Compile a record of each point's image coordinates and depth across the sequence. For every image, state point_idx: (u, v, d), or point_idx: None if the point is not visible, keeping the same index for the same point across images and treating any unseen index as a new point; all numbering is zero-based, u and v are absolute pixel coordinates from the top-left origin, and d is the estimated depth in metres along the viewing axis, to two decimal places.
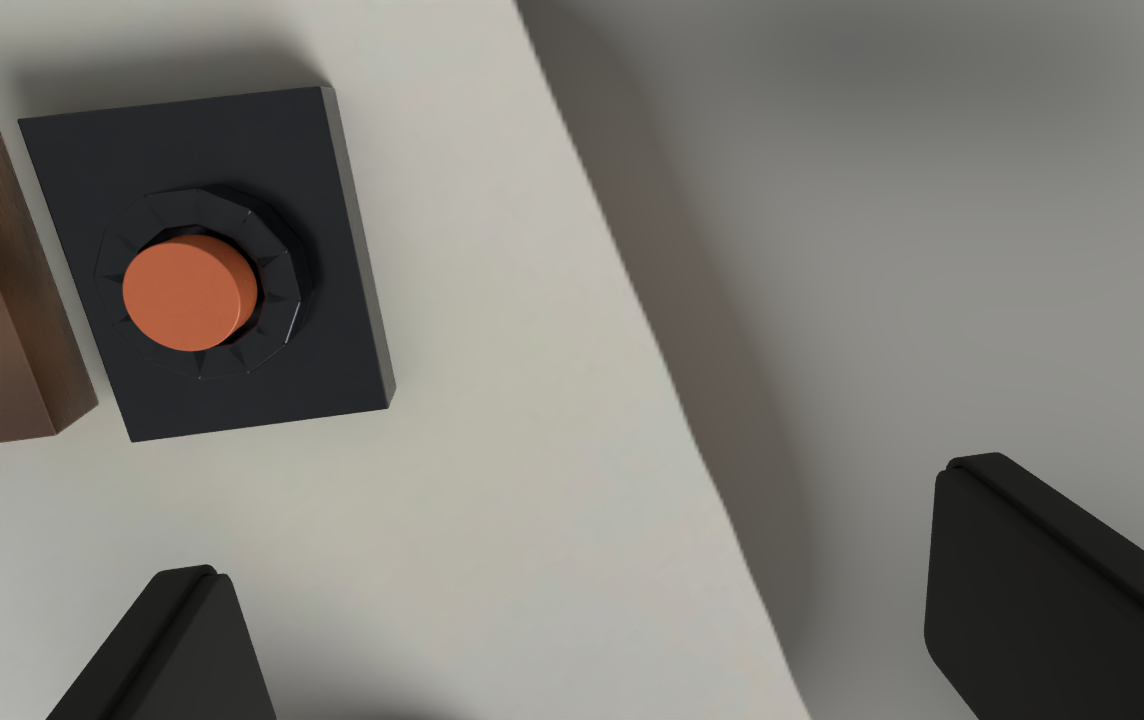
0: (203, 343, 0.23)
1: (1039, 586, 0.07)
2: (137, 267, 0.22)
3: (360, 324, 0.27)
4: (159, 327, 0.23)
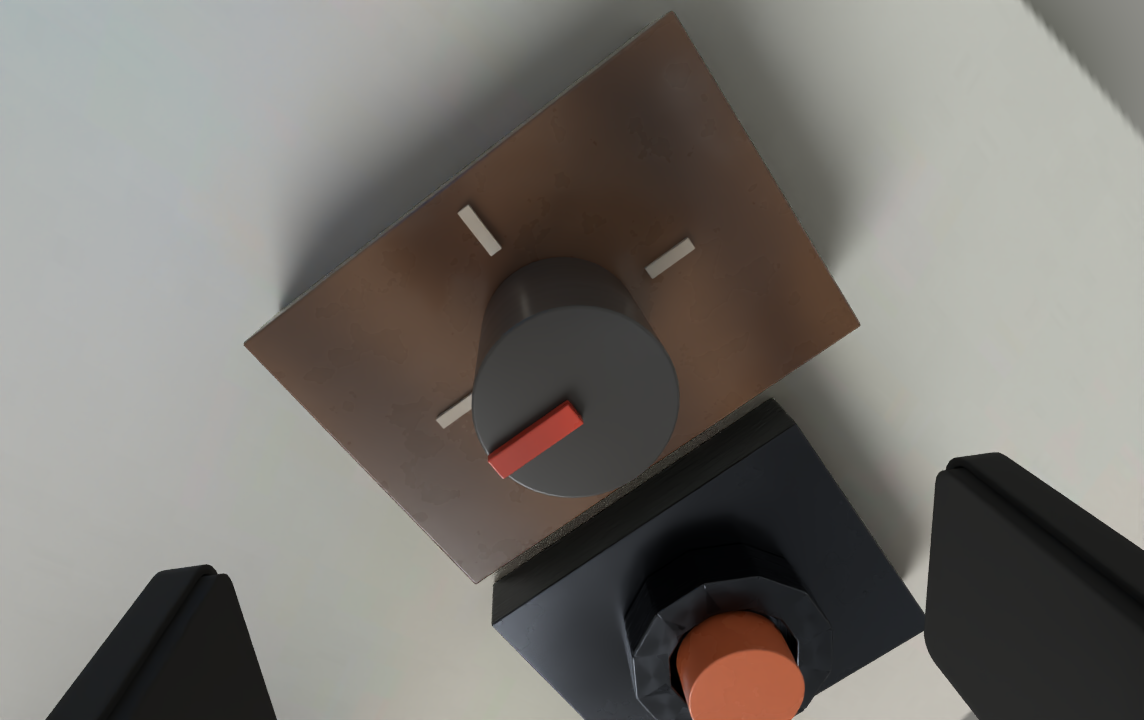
0: None
1: (1039, 586, 0.07)
2: (762, 657, 0.21)
3: None
4: (707, 693, 0.21)
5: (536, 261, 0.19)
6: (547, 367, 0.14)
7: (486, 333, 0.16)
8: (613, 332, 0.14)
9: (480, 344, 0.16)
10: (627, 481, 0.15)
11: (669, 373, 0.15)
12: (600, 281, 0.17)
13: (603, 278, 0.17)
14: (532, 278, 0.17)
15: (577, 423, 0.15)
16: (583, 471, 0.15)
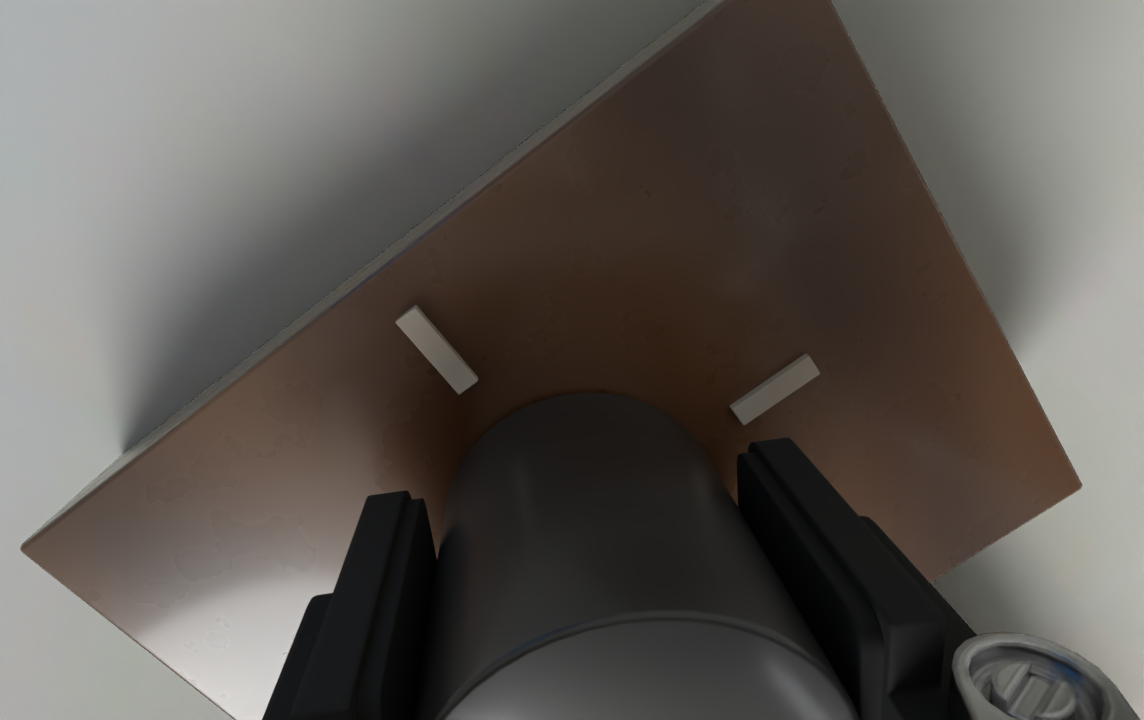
0: None
1: (786, 552, 0.08)
2: None
3: None
4: None
5: (540, 402, 0.10)
6: None
7: (442, 597, 0.08)
8: (731, 664, 0.06)
9: (432, 606, 0.08)
10: None
11: None
12: (669, 471, 0.09)
13: (671, 455, 0.09)
14: (535, 460, 0.09)
15: None
16: None
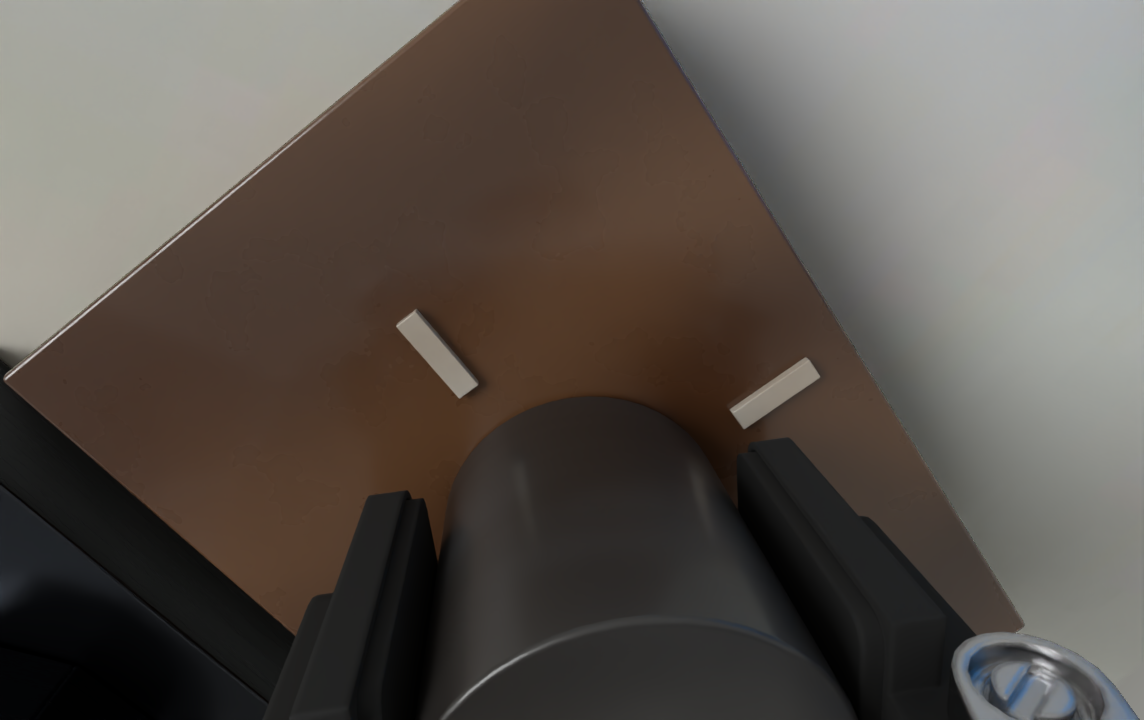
0: None
1: (786, 552, 0.08)
2: None
3: None
4: None
5: (539, 406, 0.10)
6: None
7: (442, 604, 0.08)
8: (728, 668, 0.06)
9: (432, 613, 0.08)
10: None
11: None
12: (667, 475, 0.09)
13: (669, 458, 0.09)
14: (533, 464, 0.09)
15: None
16: None
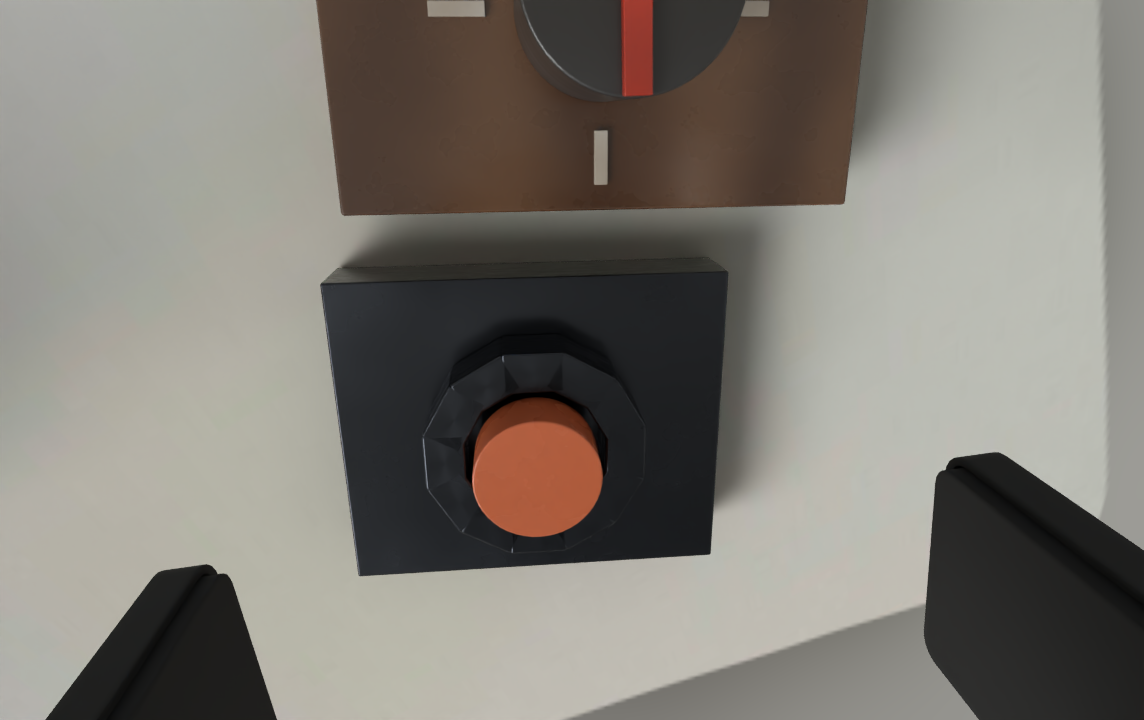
0: (481, 492, 0.19)
1: (1039, 586, 0.07)
2: (579, 445, 0.19)
3: (465, 560, 0.24)
4: (505, 451, 0.19)
5: None
6: None
7: (527, 38, 0.15)
8: None
9: (536, 56, 0.15)
10: None
11: None
12: None
13: None
14: None
15: None
16: (704, 15, 0.13)
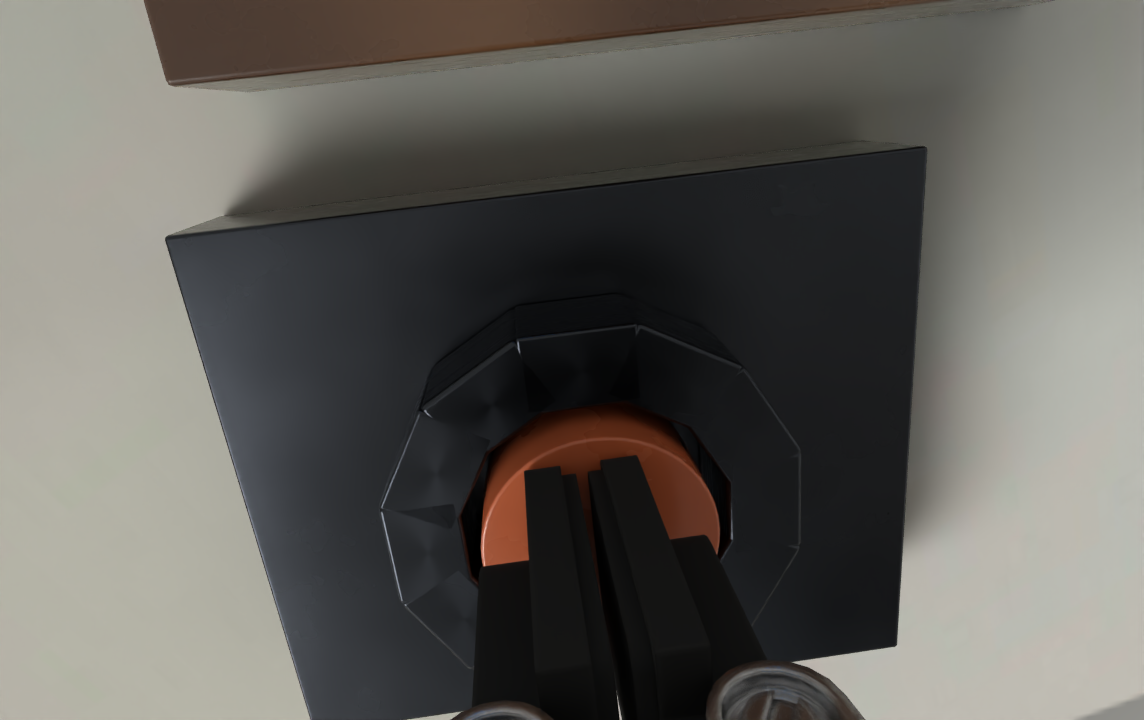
0: None
1: (607, 574, 0.08)
2: (674, 476, 0.10)
3: None
4: None
5: None
6: None
7: None
8: None
9: None
10: None
11: None
12: None
13: None
14: None
15: None
16: None
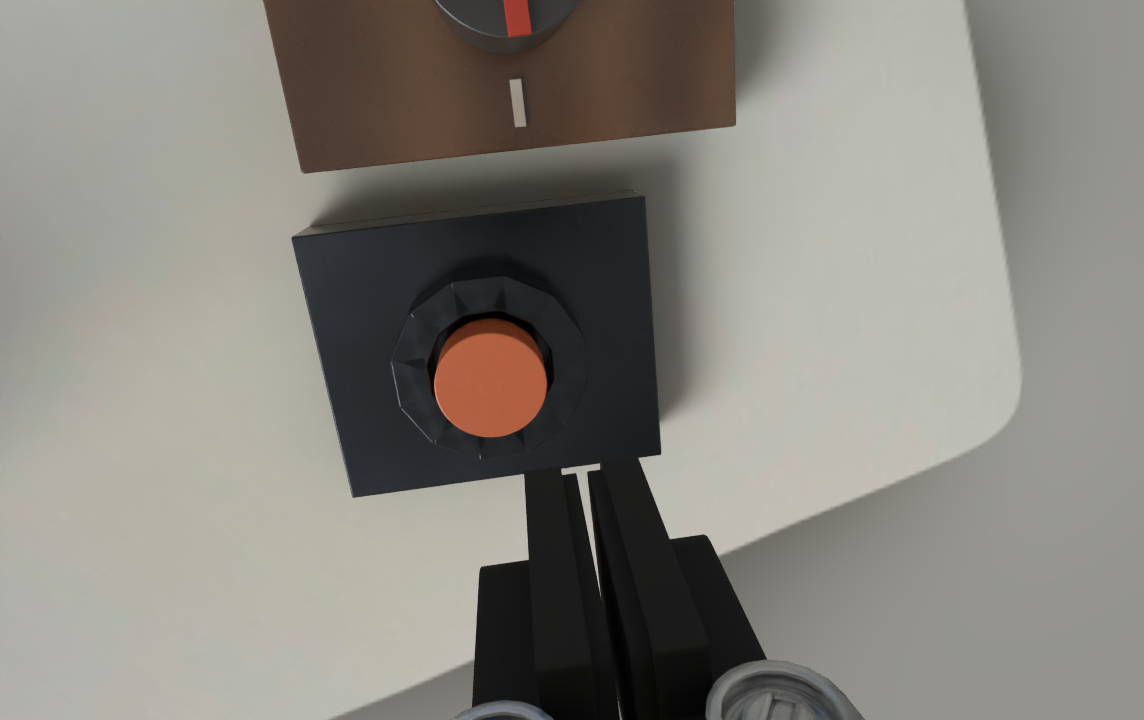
0: (443, 400, 0.23)
1: (607, 574, 0.08)
2: (522, 352, 0.22)
3: (444, 476, 0.27)
4: (459, 362, 0.22)
5: None
6: None
7: (432, 0, 0.18)
8: None
9: (443, 15, 0.18)
10: None
11: None
12: None
13: None
14: None
15: None
16: None
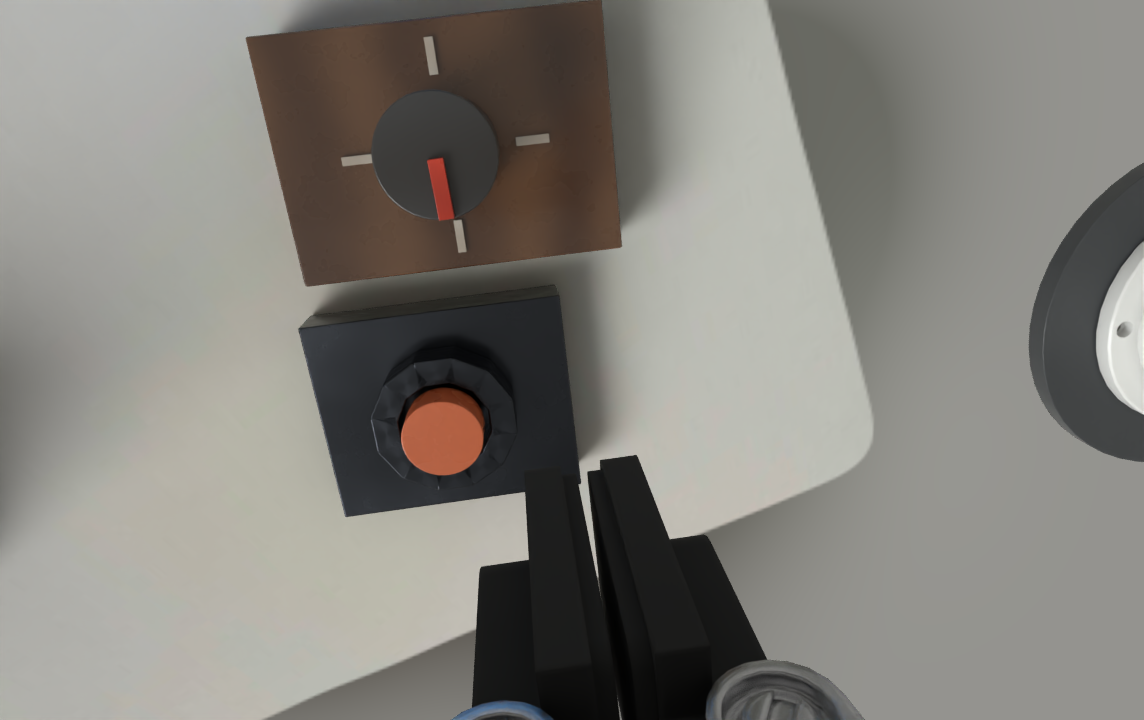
0: (407, 449, 0.31)
1: (607, 574, 0.08)
2: (464, 414, 0.31)
3: (414, 501, 0.36)
4: (419, 422, 0.31)
5: None
6: (403, 160, 0.25)
7: None
8: (400, 113, 0.24)
9: None
10: (496, 152, 0.25)
11: (440, 94, 0.24)
12: None
13: None
14: None
15: (440, 161, 0.24)
16: (476, 173, 0.25)
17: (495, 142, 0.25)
